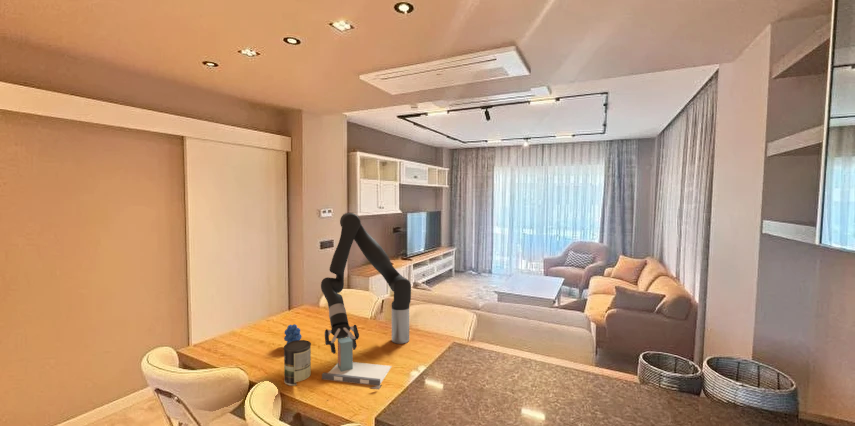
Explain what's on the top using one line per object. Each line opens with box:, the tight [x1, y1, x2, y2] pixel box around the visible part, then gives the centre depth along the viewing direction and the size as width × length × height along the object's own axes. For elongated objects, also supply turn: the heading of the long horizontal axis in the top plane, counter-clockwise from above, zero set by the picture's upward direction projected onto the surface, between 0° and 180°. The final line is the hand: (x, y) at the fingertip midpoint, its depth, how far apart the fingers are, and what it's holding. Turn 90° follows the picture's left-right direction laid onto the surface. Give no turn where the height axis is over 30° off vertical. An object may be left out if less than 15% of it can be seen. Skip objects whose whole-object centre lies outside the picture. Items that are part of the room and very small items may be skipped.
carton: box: [337, 337, 354, 372], centre depth 145 cm, size 5×5×12 cm
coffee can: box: [283, 339, 312, 387], centre depth 138 cm, size 10×10×14 cm
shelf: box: [321, 361, 393, 390], centre depth 141 cm, size 16×24×4 cm
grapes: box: [283, 323, 302, 344], centre depth 169 cm, size 12×7×12 cm, turn 59°
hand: (344, 351), depth 145 cm, fingers open, 8 cm apart
